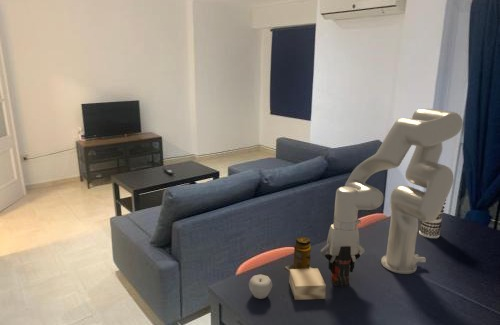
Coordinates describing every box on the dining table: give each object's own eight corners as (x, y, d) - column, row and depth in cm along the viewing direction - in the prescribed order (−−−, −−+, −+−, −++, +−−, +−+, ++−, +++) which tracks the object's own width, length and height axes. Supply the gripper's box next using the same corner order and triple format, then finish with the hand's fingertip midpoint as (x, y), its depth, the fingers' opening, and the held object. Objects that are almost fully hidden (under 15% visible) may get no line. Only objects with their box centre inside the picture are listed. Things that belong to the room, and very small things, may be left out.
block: (317, 280, 126) (317, 268, 124) (324, 298, 116) (326, 285, 115) (289, 281, 125) (289, 269, 123) (294, 299, 115) (295, 286, 114)
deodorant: (350, 286, 122) (354, 247, 118) (333, 286, 122) (336, 247, 118) (346, 276, 128) (349, 239, 124) (329, 276, 128) (332, 239, 124)
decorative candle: (415, 228, 167) (422, 178, 161) (436, 230, 166) (444, 179, 159) (421, 237, 158) (429, 184, 152) (443, 239, 157) (452, 185, 151)
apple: (248, 287, 121) (248, 270, 119) (271, 288, 121) (272, 271, 119) (247, 303, 113) (248, 285, 112) (272, 303, 113) (273, 285, 111)
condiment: (314, 270, 132) (316, 241, 129) (297, 277, 128) (298, 247, 125) (301, 261, 138) (303, 233, 135) (284, 267, 134) (285, 238, 130)
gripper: (365, 218, 124) (360, 264, 128) (317, 219, 122) (314, 265, 127) (374, 227, 116) (369, 275, 121) (323, 228, 115) (319, 277, 120)
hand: (340, 270), depth 124 cm, fingers closed on deodorant, 5 cm apart
